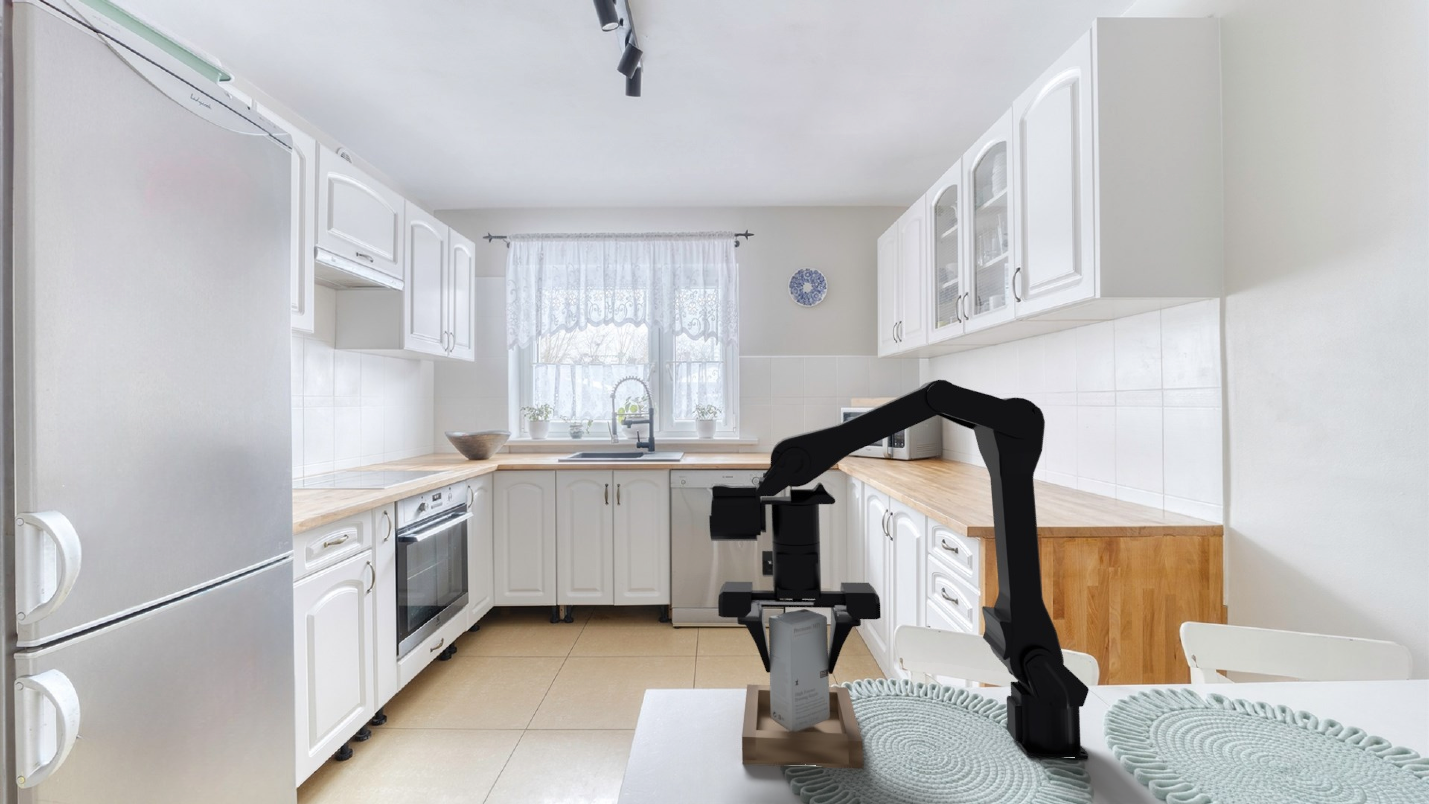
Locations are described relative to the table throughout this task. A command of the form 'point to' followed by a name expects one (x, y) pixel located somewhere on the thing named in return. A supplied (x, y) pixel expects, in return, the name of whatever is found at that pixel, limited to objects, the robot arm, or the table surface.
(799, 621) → the skincare box
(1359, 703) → the table surface
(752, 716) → the brown wooden tray
